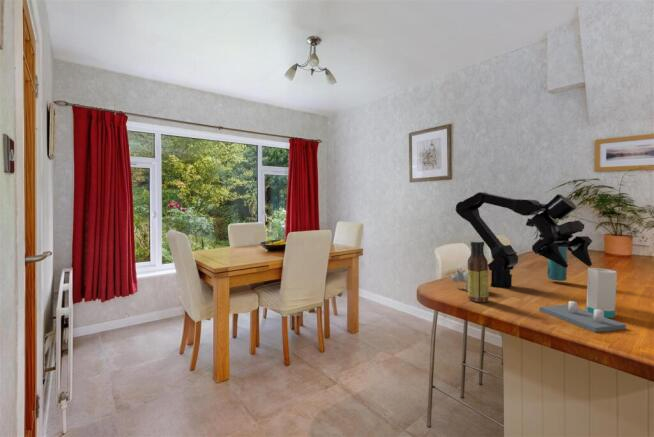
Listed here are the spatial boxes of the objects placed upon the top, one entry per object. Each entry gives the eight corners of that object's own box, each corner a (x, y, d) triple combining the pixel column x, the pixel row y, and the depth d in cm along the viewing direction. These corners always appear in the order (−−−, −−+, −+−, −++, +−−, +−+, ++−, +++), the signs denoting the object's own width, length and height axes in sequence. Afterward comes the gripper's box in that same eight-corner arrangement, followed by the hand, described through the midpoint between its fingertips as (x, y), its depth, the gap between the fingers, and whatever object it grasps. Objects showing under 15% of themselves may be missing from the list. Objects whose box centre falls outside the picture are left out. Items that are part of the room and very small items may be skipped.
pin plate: (539, 310, 95) (540, 297, 95) (566, 308, 97) (567, 295, 97) (594, 332, 79) (595, 316, 79) (625, 329, 82) (626, 313, 81)
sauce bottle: (486, 298, 107) (488, 240, 106) (489, 304, 101) (491, 242, 100) (465, 296, 109) (467, 239, 108) (467, 302, 104) (469, 241, 102)
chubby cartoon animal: (454, 285, 125) (455, 263, 124) (487, 290, 117) (488, 267, 116) (447, 288, 120) (448, 266, 119) (481, 295, 112) (482, 271, 111)
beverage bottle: (570, 284, 125) (572, 234, 124) (553, 284, 125) (555, 234, 124) (558, 280, 132) (560, 232, 130) (542, 280, 132) (544, 232, 131)
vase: (588, 315, 91) (590, 270, 91) (585, 309, 96) (587, 267, 96) (616, 319, 88) (618, 273, 87) (611, 313, 93) (613, 269, 92)
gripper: (540, 212, 101) (573, 252, 90) (587, 211, 105) (623, 249, 94) (519, 234, 109) (547, 273, 99) (564, 233, 113) (595, 270, 103)
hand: (578, 266), depth 98 cm, fingers open, 9 cm apart
